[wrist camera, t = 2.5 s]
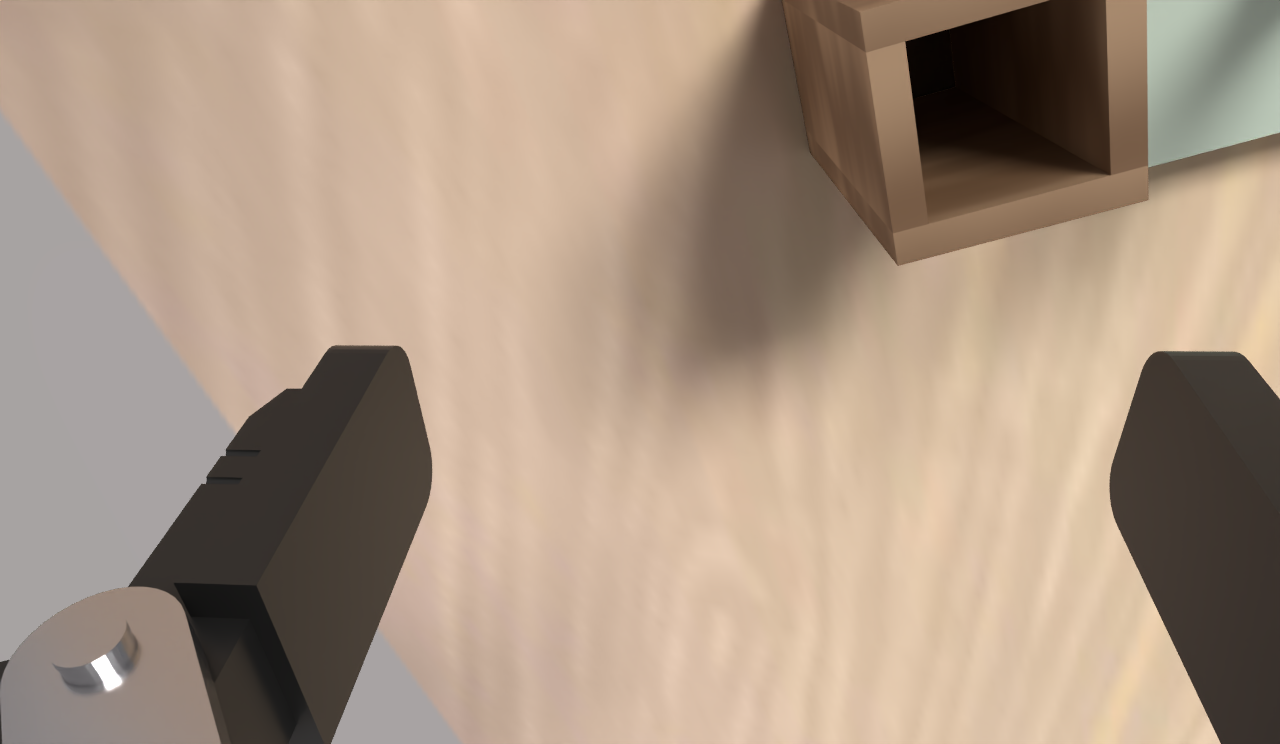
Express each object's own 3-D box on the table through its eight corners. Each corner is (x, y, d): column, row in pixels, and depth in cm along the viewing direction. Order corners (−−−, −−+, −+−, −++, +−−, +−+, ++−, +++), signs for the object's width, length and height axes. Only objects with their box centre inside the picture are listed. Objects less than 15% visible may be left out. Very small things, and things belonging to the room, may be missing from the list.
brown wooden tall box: (776, -30, 27) (859, 12, 18) (965, -86, 26) (1146, -72, 18) (810, 152, 30) (897, 265, 21) (983, 104, 29) (1148, 199, 20)
